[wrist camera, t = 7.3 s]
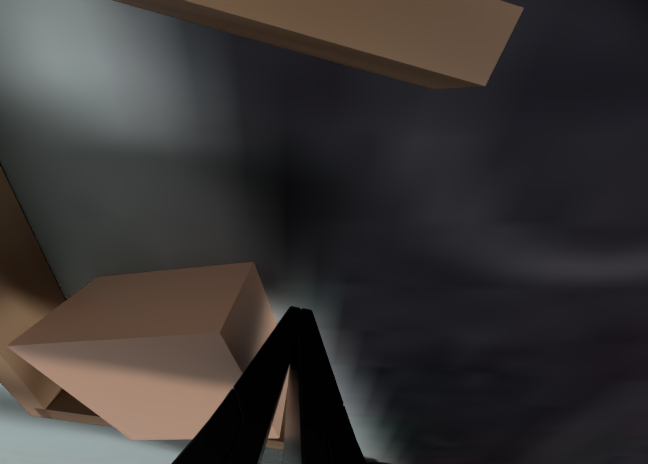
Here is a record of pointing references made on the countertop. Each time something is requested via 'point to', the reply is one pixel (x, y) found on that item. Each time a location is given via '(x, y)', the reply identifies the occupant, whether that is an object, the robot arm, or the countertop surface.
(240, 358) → the tan trapezoid block
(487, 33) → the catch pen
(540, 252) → the countertop surface
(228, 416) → the robot arm
